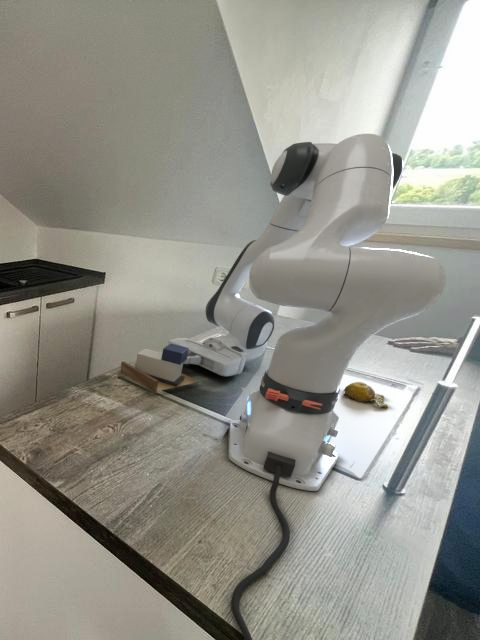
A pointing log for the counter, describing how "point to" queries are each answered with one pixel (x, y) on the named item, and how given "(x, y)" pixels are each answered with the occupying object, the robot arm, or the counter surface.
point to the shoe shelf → (150, 378)
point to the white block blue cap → (163, 363)
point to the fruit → (364, 393)
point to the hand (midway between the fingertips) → (180, 359)
